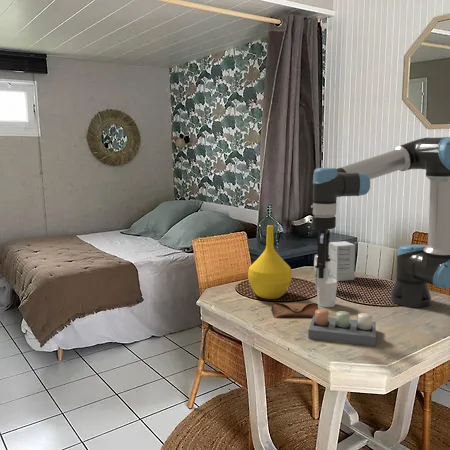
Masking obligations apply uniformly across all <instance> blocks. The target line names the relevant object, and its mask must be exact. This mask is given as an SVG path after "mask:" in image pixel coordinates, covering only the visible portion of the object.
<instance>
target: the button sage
mask: <svg viewBox="0 0 450 450" xmlns="http://www.w3.org/2000/svg"><path fill="white" fill-rule="evenodd" d="M335 318H336V325H337V326H338V327H349V326H350V319H351V313H350V312H348V311H345V310H343V311H342V310H340V311H337V312H336V313H335Z"/></svg>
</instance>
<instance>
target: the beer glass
mask: <svg viewBox="0 0 450 450" xmlns="http://www.w3.org/2000/svg"><path fill="white" fill-rule="evenodd" d="M329 259H330V255H329ZM327 262H328V278H330V277H329V272H330V261H327ZM316 265H317V253H316V254H314V259H313V269H314V276H315V277H314V278H315V284H314V290H316V291H317V268H315V266H316Z"/></svg>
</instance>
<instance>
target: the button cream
mask: <svg viewBox="0 0 450 450" xmlns="http://www.w3.org/2000/svg"><path fill="white" fill-rule="evenodd" d="M357 320H358V328H360V329H363V330H369V329H371V328H372V322H373V315H372V314H370V313H365V312H361V313H358V314H357Z"/></svg>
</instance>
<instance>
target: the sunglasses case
mask: <svg viewBox="0 0 450 450" xmlns="http://www.w3.org/2000/svg"><path fill="white" fill-rule="evenodd" d="M270 309H271V314H272V316H273V318H274V319H298V318H299V319H312V318H313V316H315V310H318V309H319V305H318V302H317V303H316V302H309V303H308V302H307V303H303V302H302V303H298V302H296V303H294V302H293V303H291V302H290V303H288V302H287V303H286V302H285V303H283V302H274V303H272V304H271V308H270Z"/></svg>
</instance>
